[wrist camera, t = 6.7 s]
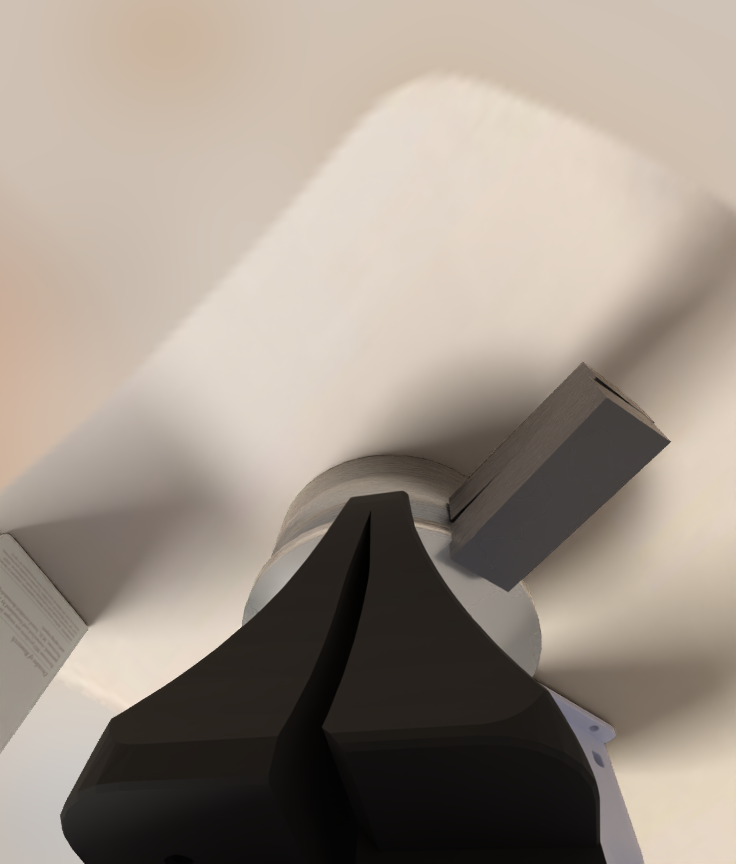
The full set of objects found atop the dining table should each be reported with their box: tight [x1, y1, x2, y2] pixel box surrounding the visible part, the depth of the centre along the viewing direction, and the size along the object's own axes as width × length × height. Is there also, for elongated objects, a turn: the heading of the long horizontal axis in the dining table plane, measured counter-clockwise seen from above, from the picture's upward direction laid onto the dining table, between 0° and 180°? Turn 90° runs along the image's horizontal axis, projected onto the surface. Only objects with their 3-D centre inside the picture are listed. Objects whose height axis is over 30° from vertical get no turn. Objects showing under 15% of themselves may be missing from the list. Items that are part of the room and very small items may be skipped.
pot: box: [271, 362, 654, 557], centre depth 22 cm, size 11×18×4 cm, turn 144°
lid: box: [242, 376, 671, 677], centre depth 19 cm, size 18×12×2 cm, turn 147°
